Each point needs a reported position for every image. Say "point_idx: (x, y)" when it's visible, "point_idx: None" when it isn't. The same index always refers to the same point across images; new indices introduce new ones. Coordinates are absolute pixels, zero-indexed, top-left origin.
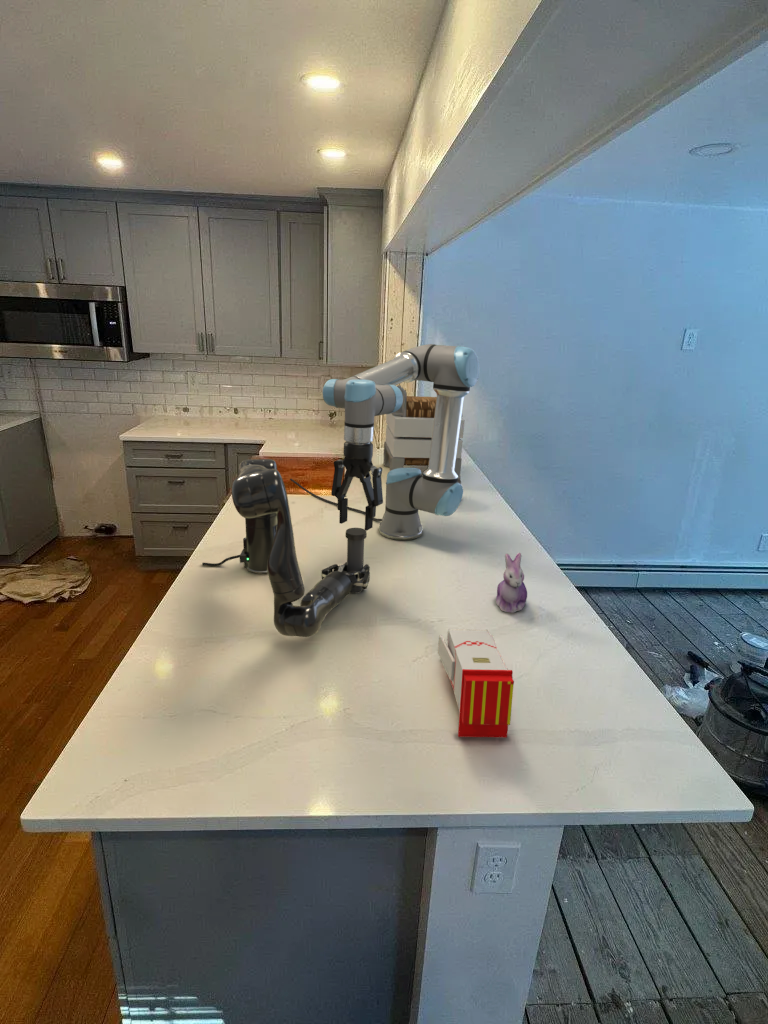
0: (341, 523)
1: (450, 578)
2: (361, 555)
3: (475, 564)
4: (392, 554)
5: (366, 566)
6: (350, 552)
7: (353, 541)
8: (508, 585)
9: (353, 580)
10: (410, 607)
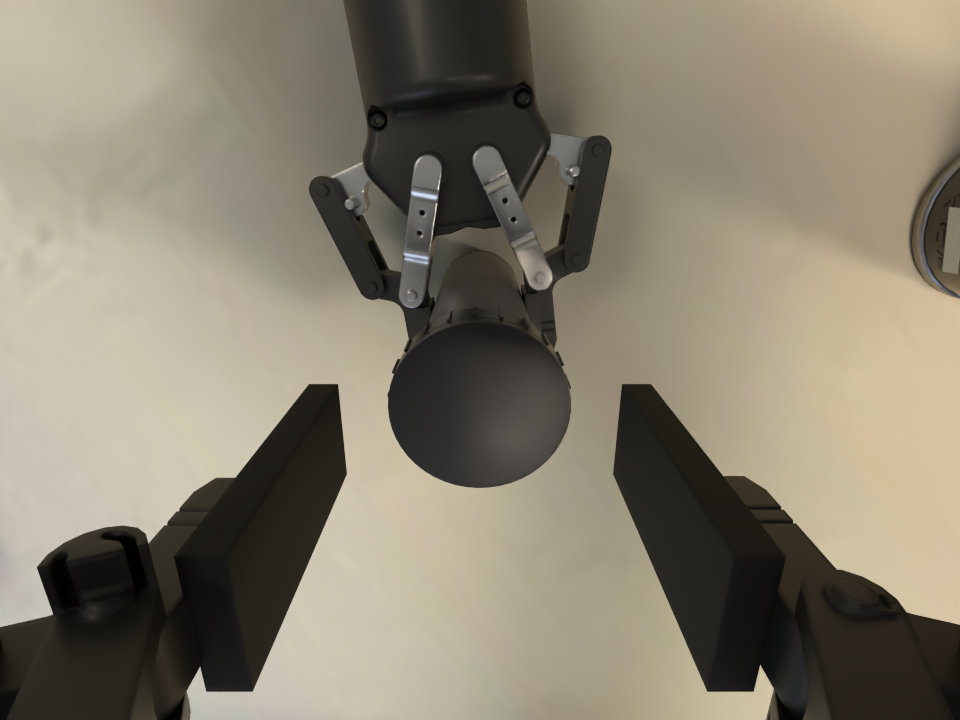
0: (624, 384)
1: None
2: None
3: (219, 710)
4: (520, 629)
5: None
6: (484, 295)
7: None
8: None
9: (375, 149)
10: (189, 289)
